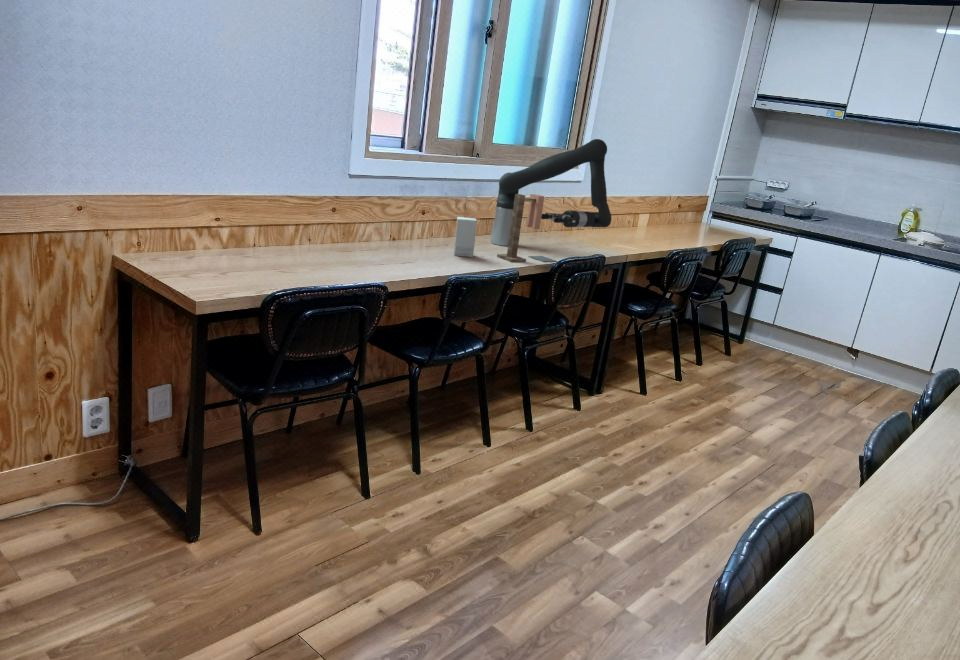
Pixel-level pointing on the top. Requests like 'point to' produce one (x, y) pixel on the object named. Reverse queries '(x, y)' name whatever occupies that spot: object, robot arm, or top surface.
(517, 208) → the stand
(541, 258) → the mat
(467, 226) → the skincare box
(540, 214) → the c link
